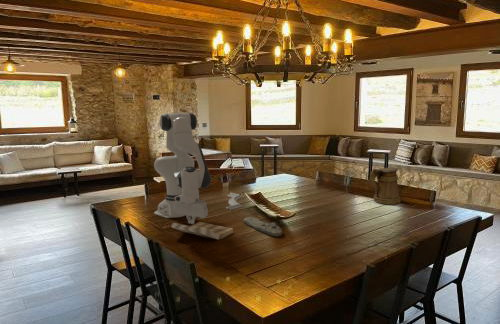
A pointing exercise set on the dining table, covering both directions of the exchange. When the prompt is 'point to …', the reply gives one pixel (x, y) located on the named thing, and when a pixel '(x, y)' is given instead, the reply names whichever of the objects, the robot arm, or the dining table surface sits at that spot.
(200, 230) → the birch plank
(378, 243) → the dining table surface
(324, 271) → the dining table surface
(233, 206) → the molding
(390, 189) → the tankard
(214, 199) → the dining table surface
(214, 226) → the oak board
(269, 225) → the long grey stone
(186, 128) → the robot arm
